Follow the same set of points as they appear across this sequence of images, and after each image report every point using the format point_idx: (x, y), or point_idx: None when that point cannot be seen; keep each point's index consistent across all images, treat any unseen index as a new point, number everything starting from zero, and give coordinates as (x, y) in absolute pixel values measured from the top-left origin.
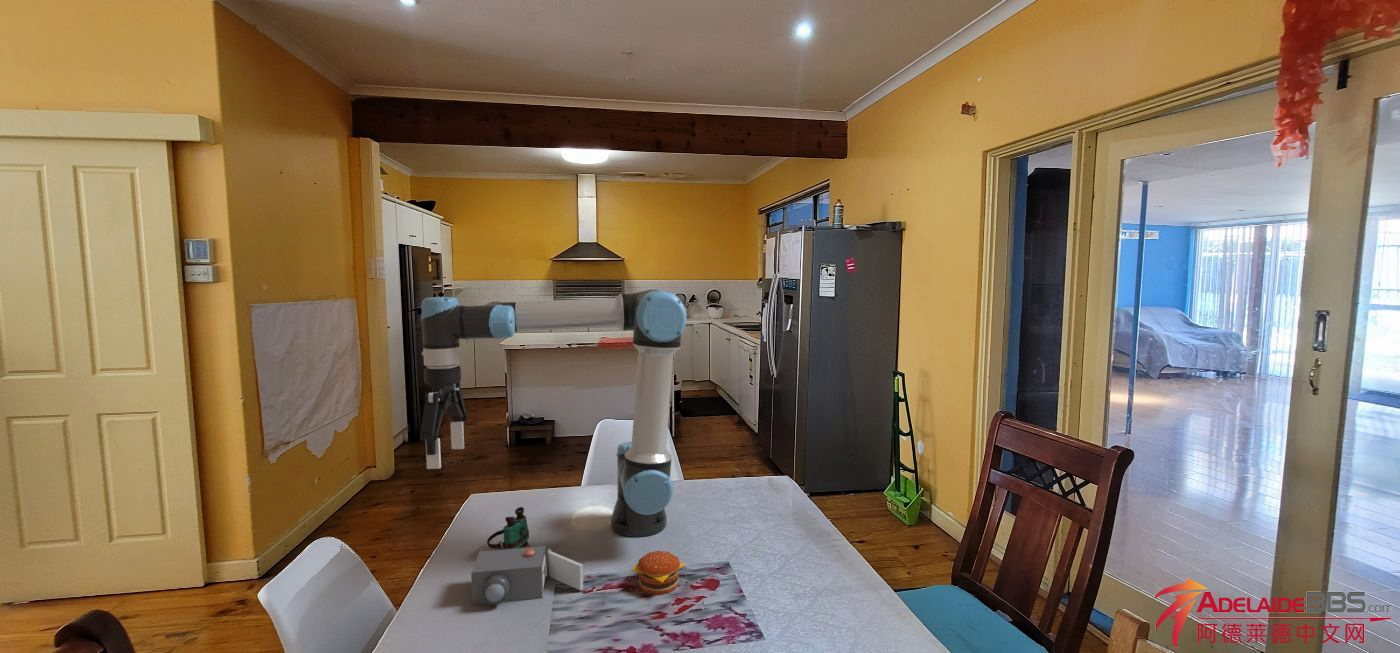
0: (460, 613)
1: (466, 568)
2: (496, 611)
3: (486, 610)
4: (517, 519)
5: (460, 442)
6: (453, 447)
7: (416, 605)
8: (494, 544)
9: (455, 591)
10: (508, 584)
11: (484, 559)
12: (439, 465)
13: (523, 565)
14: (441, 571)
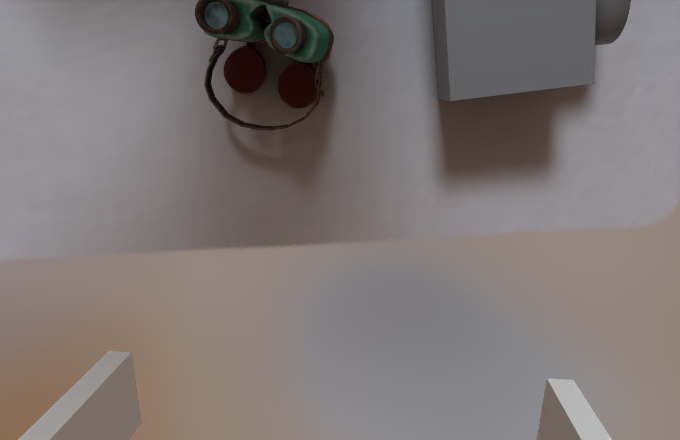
0: (589, 102)
1: (364, 161)
2: None
3: None
4: (242, 23)
5: (105, 400)
6: (134, 419)
7: (531, 223)
8: (318, 94)
9: (480, 151)
10: None
11: (510, 67)
12: (583, 396)
13: None
14: (375, 221)
